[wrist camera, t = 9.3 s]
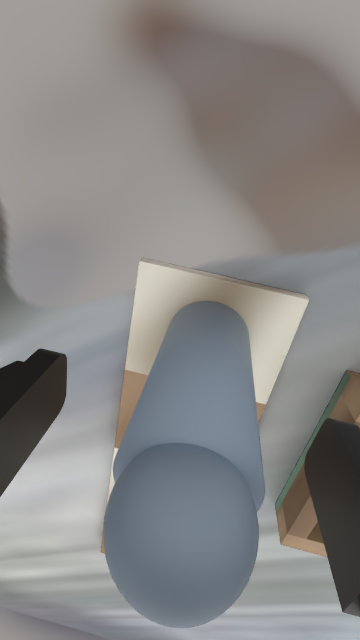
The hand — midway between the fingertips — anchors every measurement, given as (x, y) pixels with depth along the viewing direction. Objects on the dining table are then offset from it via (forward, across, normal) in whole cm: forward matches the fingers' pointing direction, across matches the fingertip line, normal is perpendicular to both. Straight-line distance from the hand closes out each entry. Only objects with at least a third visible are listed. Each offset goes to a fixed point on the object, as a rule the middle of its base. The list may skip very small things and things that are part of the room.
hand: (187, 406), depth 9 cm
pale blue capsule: (+4, 0, 0) cm, 5 cm away
